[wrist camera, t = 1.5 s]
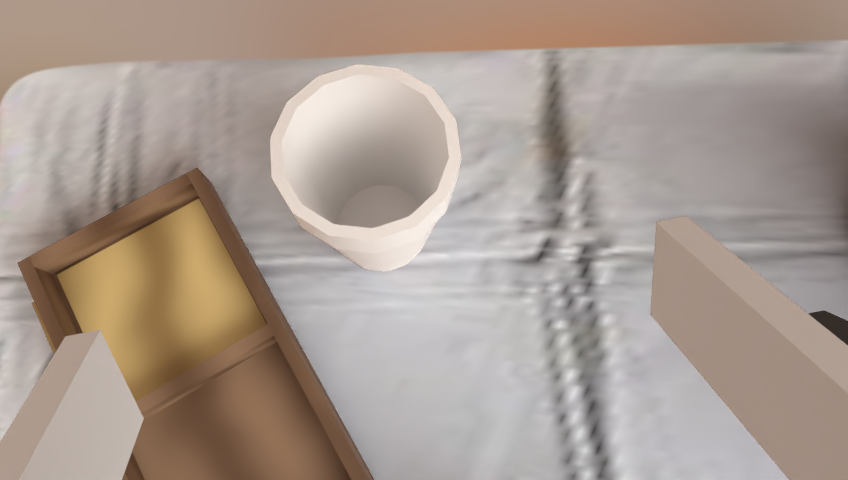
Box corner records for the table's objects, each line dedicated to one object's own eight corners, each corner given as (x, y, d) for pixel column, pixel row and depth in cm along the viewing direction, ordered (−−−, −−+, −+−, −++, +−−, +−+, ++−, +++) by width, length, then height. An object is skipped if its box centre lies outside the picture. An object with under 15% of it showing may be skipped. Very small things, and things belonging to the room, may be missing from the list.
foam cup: (287, 246, 42) (230, 174, 29) (362, 143, 44) (338, 34, 31) (403, 319, 40) (394, 276, 28) (474, 208, 42) (496, 122, 30)
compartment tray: (211, 183, 43) (197, 167, 40) (384, 498, 37) (381, 504, 34) (39, 275, 41) (12, 265, 38) (194, 623, 35) (174, 640, 32)
